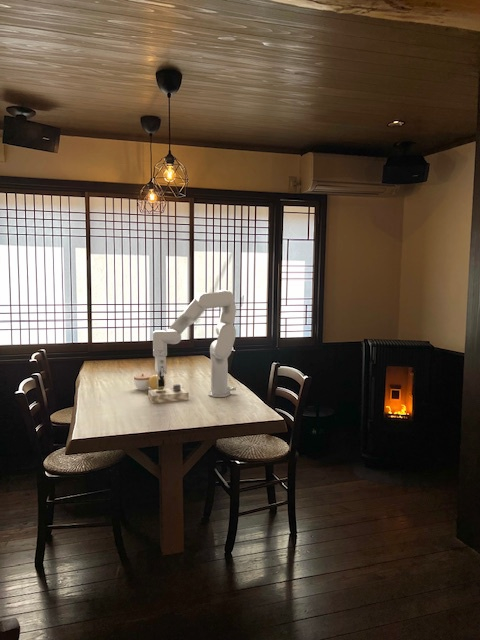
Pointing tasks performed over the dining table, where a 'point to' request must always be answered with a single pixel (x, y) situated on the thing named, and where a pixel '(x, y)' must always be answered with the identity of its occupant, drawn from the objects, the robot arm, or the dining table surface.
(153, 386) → the stress ball
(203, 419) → the dining table surface
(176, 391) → the jig
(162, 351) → the robot arm
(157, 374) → the brass cylinder
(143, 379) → the lidded jar
